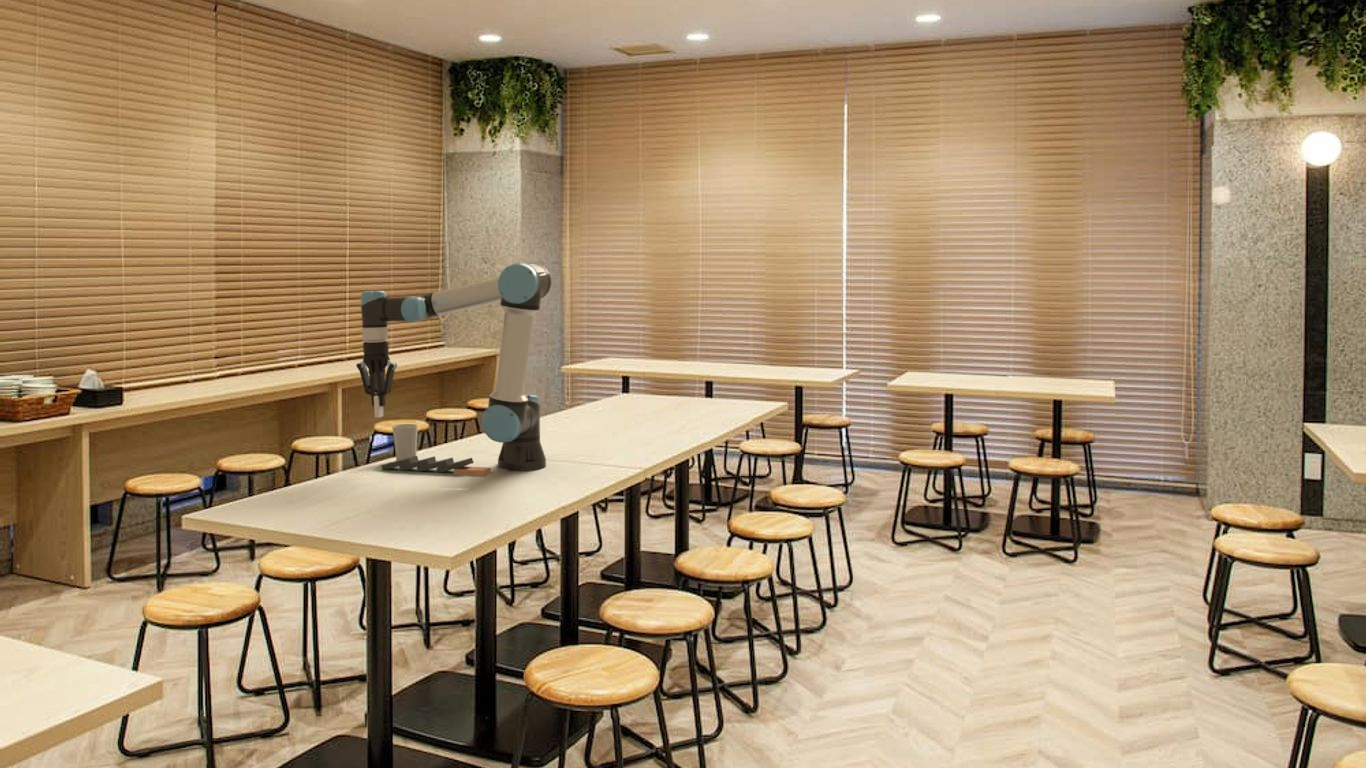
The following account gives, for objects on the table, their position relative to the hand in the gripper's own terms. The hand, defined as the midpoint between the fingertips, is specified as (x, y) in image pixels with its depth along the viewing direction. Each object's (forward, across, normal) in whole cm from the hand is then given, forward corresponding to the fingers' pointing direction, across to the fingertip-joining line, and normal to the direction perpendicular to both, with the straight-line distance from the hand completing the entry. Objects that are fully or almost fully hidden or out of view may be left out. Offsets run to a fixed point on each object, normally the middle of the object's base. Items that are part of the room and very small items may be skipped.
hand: (379, 416), depth 335 cm
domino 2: (+16, -8, 0) cm, 17 cm away
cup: (+17, -1, -13) cm, 21 cm away
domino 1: (+16, -2, 0) cm, 16 cm away
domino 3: (+16, -14, 0) cm, 21 cm away
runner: (+17, -17, 0) cm, 24 cm away
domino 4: (+16, -20, 0) cm, 26 cm away
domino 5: (+16, -26, 0) cm, 30 cm away
